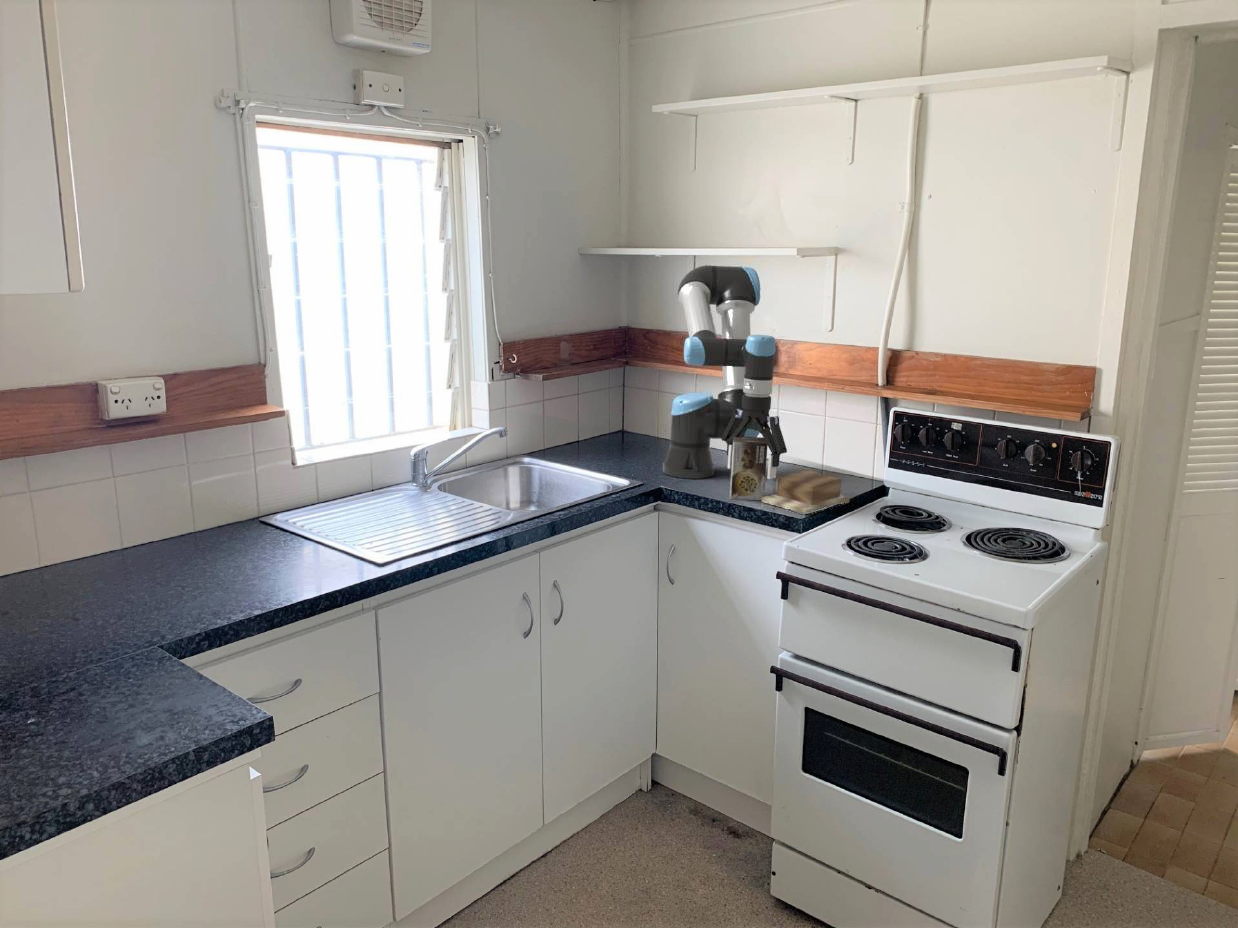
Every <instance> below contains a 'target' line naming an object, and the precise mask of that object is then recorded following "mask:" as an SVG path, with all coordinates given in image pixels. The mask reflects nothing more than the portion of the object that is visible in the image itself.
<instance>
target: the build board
mask: <svg viewBox="0 0 1238 928" xmlns="http://www.w3.org/2000/svg"><path fill="white" fill-rule="evenodd" d="M850 498H851V497H850V496H846V495H843V494H840V497H837V498H833V499H830V500H826V501H823V502H819V503H816V504H812V505H810V504H806V503H803V502H799V501H796V500H792V499H789V498H785V497H782V496H778V495H777V492H776V493H773V494H769V495H764V497H762V500H761V502H764V503H769V504H771V505H776V506H778V507H783V508H785V509H791V510H794V511H799V512H804V513H806V512H811V511H815V510H818V509H822V508H824V507H829V506H831V505H835V504H842V505H845V504H849V503H850ZM764 503H763V504H764ZM844 503H845V504H844ZM771 505H770V506H771ZM778 507H777V508H778Z"/></svg>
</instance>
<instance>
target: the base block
mask: <svg viewBox="0 0 1238 928" xmlns="http://www.w3.org/2000/svg"><path fill="white" fill-rule="evenodd" d="M777 478H778V479H777V480H778V481H777V490H776V493H777V495H778V496H782V497H785V498H789V499H792V500H796V501H799V502H803V503H806V504H810V505H812V504H816V503H819V502H823V501H826V500H830V499H833V498H837V497H840V495H841V487H842V478H840V477H836V476H832V475H828V474H825V473H820V472H817V471H813V470H809V469H807V470H802V471H798V472H793V473H790V474H786V475H782V476H778V477H777Z"/></svg>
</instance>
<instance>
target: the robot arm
mask: <svg viewBox="0 0 1238 928" xmlns="http://www.w3.org/2000/svg"><path fill="white" fill-rule="evenodd" d="M760 282H761V281H760V277H759V274H758V272H757V270H755V269H754V268H753V267H748V266H743V265H742V266H741V265H739V266H728V265H725V266H724V265H709V264H708V265H707V264H705V265H700V266H697V267H694V269H692V270H690V271H689V272H688V273H687V274H685V276H683V278H682V279H681V281H680V283H679V286H678V289H677V297H678V298H677V299H678V302H679V304H680V306H681V307H682V308H683V311H684V316H685V322H686V326H687V333H688V337H687V338H686V339H685V341H684V346H683V347H684V348H683V360H684V362H685V364H686V365H688V366H690V365H691V366H697V367H702V366H703V367H721V368H722V390H720V392H718V394H717V398H714V396H713V394H712V393H709V392H691V393H684V394H680V395H678V396H676V397H675V398H674V399H673V401H672V405H671V406H672V407H671V412H670V413H671V421H670V423H671V425H670V437H669V438H670V442H669V448H668V449H667V452H666V456H665V458H664V461H663V463H662V472H663V473H664V474H666V475H668V476H671V477H675V478H680V479H681V478H682V479H693V480H694V479H705V478H710V477H713V476H714V474H715V464H714V463H713V459H712V457H713V456H712V454H711V453H712V452H711V448H710V446H711V439H714V440H715V439H717V440H721V441H722V442H725V443H726V456H727V469H729V470H731V466H732V450H733V438H734V437H738V436H739V437H758V436H759V435H760V434H761V435H762V436H761V437H762V438H764V440H765V441H766V443H767V445H768V447H767V448H768V449H769V451H770V452H771V454H768V462H767V476H766V479H767V480H773V479H776V478H777V469H778V467H779V465H780V456H781V455H782V454H786V453H787V452H788V449H787V446H786V442H785V440H784V439H785V438H784V435H783V433H782V429H781V426H780V416H779V415H774V416H770V410H771V406H772V396H771V395H772V394H773V382H774V370H775V369H774V368H775V355H776V352H777V349H776V338H775V337H774V336H772V335H767V334H751V314H752V313H753V312H754V311H755V309H756V307H757V306H759V303H760V300H761V283H760ZM711 305H715V311H716V313H717V314H718V315H719V316H721V318H720V319H721V337H718V336H717V335H718V334H717V331H716V327H715V321H714V317H713V314H712V310H711Z"/></svg>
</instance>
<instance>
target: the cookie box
mask: <svg viewBox="0 0 1238 928" xmlns="http://www.w3.org/2000/svg"><path fill="white" fill-rule="evenodd" d="M768 448H769V447H768V445H767V443H766V441H765V440H764V438H763V437H762V436H761V437H758V436H757V437H739V436H738V437H734V438H733V450H732V466H731V469H730V485H729V497H730V498H729V499H730V500H745V501H746V500H748V501H762V497H765V490H766V489H765V488H766V477H767V476H766V473H767V460H768V459H767V457H768Z"/></svg>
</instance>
